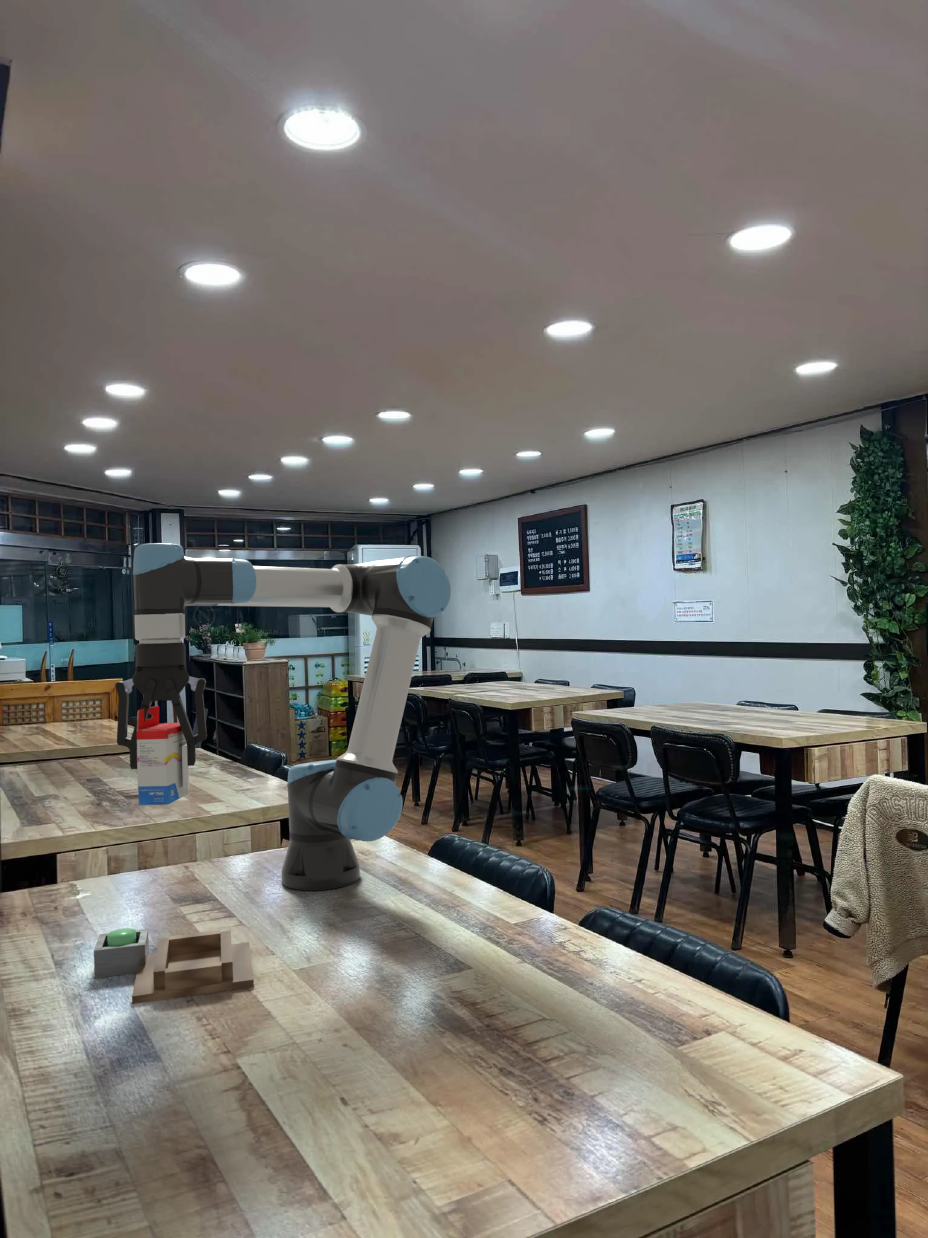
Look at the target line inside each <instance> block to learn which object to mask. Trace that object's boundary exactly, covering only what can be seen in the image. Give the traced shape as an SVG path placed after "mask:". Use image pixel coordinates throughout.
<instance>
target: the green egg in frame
mask: <svg viewBox="0 0 928 1238" xmlns="http://www.w3.org/2000/svg"><path fill="white" fill-rule="evenodd" d="M135 930H136V943H134V944H126V945H118V946H110V947H108V941H107V934H108V933H109V932H108V933H100V934H98V938H97V940H96V941H97V942H96V944H95V946H94V949H93V963H94V964H93V965H94V967H93V968H94V971H93V972H94V979H99V978H100V979H101V978H108V977H115V976H121V975H123V976H124V975H129V974H137V970H138V966H140V965H146V960H147V955H150V949H149V948H150V945H149V941H150V940H149V928H141V929H135Z"/></svg>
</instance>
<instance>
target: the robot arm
mask: <svg viewBox="0 0 928 1238" xmlns="http://www.w3.org/2000/svg"><path fill="white" fill-rule="evenodd" d="M132 567H133V568H132V569H133V570H132V575H133V593H134V594H133V597H134V615H133V616H134V638H135V640H136V641H139V643H136V645H135V646H134V647H135V652H134V653H135V671H134V674H133V676H132V678H130V679H127V680H119V681H118V682H116V683H115V685H114V686H115V691H116V693H117V697H118V711H117V726H116V727H117V730H116V744H117V745H118V746H122V747H126V748H128V751H129V767H130V770H137V775H138V758H137V720H135V721H136V722H135V724H134V727H133V732H132V735H131V737H128V730H129V729H128V728H129V726H128V723H129V708H130V707H129V706H130V705H129V704H130V697H129V695H130V693H132V692H133V687H134V686H135V687H136V688H137V690H138V691H139V692H140V693H141V695H143V697H142V699H141V700H142V701H141V704H140V708H139V710H141V709H144V722H145V720H146V719H148V716H149V713H148V712H149V709H150V707H152V703H153V702H157V701H158V702H159V701H165V702H166V701H167V702H169V701H171V704H172V707H173V709H174V711H175V714H176V717H177V720H178V723H180V726H181V729H182V731H183V734H184V737H185V740H186V743H187V745H183V746H182V771H183V788H188V789H189V786H190V777H189V776H190V774H189V773H190V772H189V767H191V766H192V767H193V766H195V764H196V755H197V754H196V753H197V752H196V745H197V744H198V743H201V742H205V741H206V739H207V737H208V731H207V723H206V721H207V720H206V712H205V711H206V710H205V702H204V691H205V687H206V683H207V680H206V679H205V678H203V677H202V678H197V677H193V676H190V673H189V671H188V670H187V660H186V659H187V657H186V655H187V654H186V653H187V652H186V651H187V650H186V644H185V642H183V641H182V640H184V639H185V638H186V621H185V620H186V617H185V616H186V614H185V613H186V611H185V610H186V609H185V607H188V606H189V607H191V606H195V607H198V606H199V607H212V606H214V607H215V606H218V607H219V606H221V607H223V606H226V607H288V608H290V607H291V608H293V607H294V608H295V607H296V608H297V607H298V608H299V607H300V608H330V609H331V610H332V611H333V612H335V613H347V614H348V613H349V614H357V615H365V616H371V620H372V622H373V624H374V625H375V627H376V632H375V635H374V638H373V644H372V648H371V652H370V655H369V659H368V664H367V668H366V672H365V677H364V680H363V685H362V688H361V692H360V697H359V700H358V701H359V702H358V705H357V709H356V713H355V717H354V722H353V726H352V730H351V733H350V738H349V743H348V747H347V750H346V751H345V753H343V754H341V755H340V756H338V757H337V758H336V759H328V760H327V759H326V760H319V761H312V762H305V763H299V764H296V765H295V764H294V765H293V766H292V765H291V766H290V768H289V770H288V773H287V784H286V787H287V797H288V798H287V799H288V826H289V827H288V828H289V843H288V846H287V851H286V854H285V857H284V860H283V865H282V867H281V884H282V885H283V886H285V887H286V888H288V889H293V890H299V891H323V890H331V889H337V888H342V887H345V886H348V885H350V884H351V885H352V884H353V883H356V881H358V880H359V879H360V875H361V872H360V871H361V869H360V863H359V860H358V857H357V854H356V851H355V848H354V846H353V843H352V840H354V841H361V842H375V841H378V840H380V839H382V838H384V836H386V835H387V834H389V833H390V832H391V831H392V830H393V829H394V828H395V826H396V825H397V823H398V822H399V820H400V817H401V814H402V810H403V803H404V802H403V796H402V795H403V794H401V793H400V791H401V790H400V788H399V787H398V785H396V781H397V777H398V772H399V771H398V769H397V767H396V766H395V765H394V763H393V760H394V755H395V750H396V746H397V742H398V739H399V738H398V736H399V732H400V728H401V724H402V719H403V716H404V712H405V711H404V710H405V707H406V702H407V698H408V693H409V690H410V685H411V682H412V681H411V680H412V677H413V673H414V670H415V669H414V668H415V663H416V659H417V656H418V651H419V647H420V643H421V639H422V638H423V637H424V636H426V635H427V634H429V633H431V631H432V625H433V621H434V618H436V617H437V616H439V615H440V614H441V613H442V612H444V611H445V610H446V609H447V607H448V605H449V603H450V599H451V591H452V590H451V583H450V580H449V576H448V575H447V573H446V572H445V569H444V567H443V566H442V565H441V564H440V563H439V562H438V561H437V560H435V559H433V558H432V557H429V556H424V555H419V556H418V555H412V554H411V555H408V556H404V557H396V558H385V559H384V558H383V559H377V560H371V561H368V562H362V563H354V564H353V563H352V564H341V563H340V564H335V565H333V566H332V567H331V568H315V567H313V568H311V567H290V566H289V567H288V566H266V565H265V566H262V565H261V566H260V565H253V564H252V562H251V561H249V560H247V559H240V558H239V559H238V558H234V557H231V558H229V557H228V558H218V557H217V558H216V557H213V558H212V557H198V558H196V557H194V558H193V557H189V556H186V555H185V553H184V548H183V546H182V545H181V544H177V543H166V542H165V543H164V542H161V543H160V542H157V543H156V542H154V543H149V542H148V543H141V544H139V545H137V546H136V547H135V549H134V553H133V565H132ZM187 684H189V685H190V690H191V691H193V692H194V703H195V704H194V705H195V714H196V715H195V716H196V727H197V729H196V730H197V734H194V732H193V728H192V726H191V723H190V721H189V717H188V715H187V712H186V709H185V707H184V704H183V700H182V696H181V695H180V694H181V692H182V691H183V690H184V689H185V687H186V685H187ZM147 714H148V715H147Z"/></svg>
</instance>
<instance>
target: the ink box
mask: <svg viewBox="0 0 928 1238" xmlns="http://www.w3.org/2000/svg"><path fill="white" fill-rule="evenodd" d="M160 710H161V709H160V706H159V705H154V706H150V709H149V712H148V714H147V715H148V716H149V715H151V718H147V719H146V720H145V722H144V709H141V710H140V709H138V710H137V712H136V713H137V715H136V721H137V758H138V774H137V792H138V805H139V806H163V805H164V806H167V805H171V804H172V803H174V802H175V801H178V800H181V798H182V799H183V798H184V797H186V796H187V795H188V794H189V792H188V791H189V790H188V789H189V787H188V788H183V771H182V746H183V745H187V743H186V740H185V737H184V734H183V731H182V729H181V726H180V723H179V722H164V723H160Z"/></svg>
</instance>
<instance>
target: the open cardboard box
mask: <svg viewBox="0 0 928 1238" xmlns="http://www.w3.org/2000/svg"><path fill="white" fill-rule="evenodd" d="M231 932H232V931H231V930H223V931H221V929H220V930H219V929H218V930H210V931H203V932H194V933H184V934H178V935H169V937H166V938H159V939H158V942H157V947H156V953H154V954H153V953H152V954H149V955H147V960H146V965H140V966H138V970H137V973H136V974H135V975H136V976H135V981H134V984H133V988H132V990H133V991H132V993H131V994H132V995H131V1004H132V1005H133V1004H139V1003H140V1004H141V1003H146V1002H155V1001H161V1000H169V999H177V998H182V997H183V998H184V997H190V996H197V995H204V994H205V995H206V994H211V993H218V992H226V991H233V990H234V991H235V990H240V989H247V988H253V987H255V984H254V983H255V982H254V973H253V963H252V955H251V947H250V946H251V945H250V941H249V942H248V941H247V942H240V943H239V942H237V943H232V933H231Z"/></svg>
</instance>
